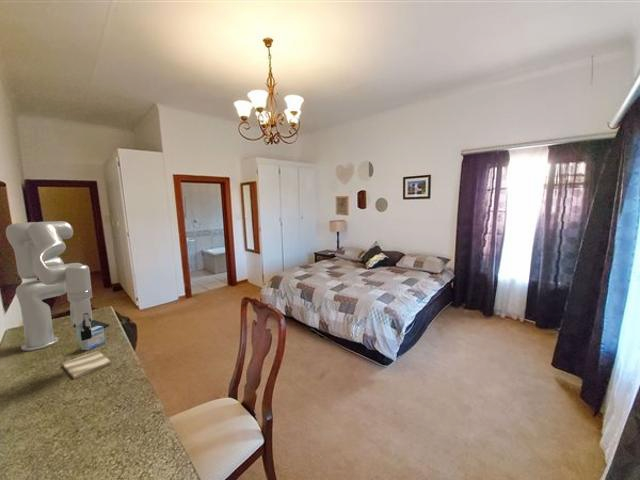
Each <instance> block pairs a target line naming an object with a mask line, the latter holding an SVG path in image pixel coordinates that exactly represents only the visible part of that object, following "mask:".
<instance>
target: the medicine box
mask: <svg viewBox="0 0 640 480" xmlns="http://www.w3.org/2000/svg"><path fill="white" fill-rule="evenodd" d="M104 329H105V328H104ZM104 329H103V326H95V327H93V328H91V333H92V339H90V340H88V341H85V342H80V349H81V351H91V350H93V349H95V348H97V347H100V346H101V345H104V344H105V341H106V340H105V331H104Z"/></svg>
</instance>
